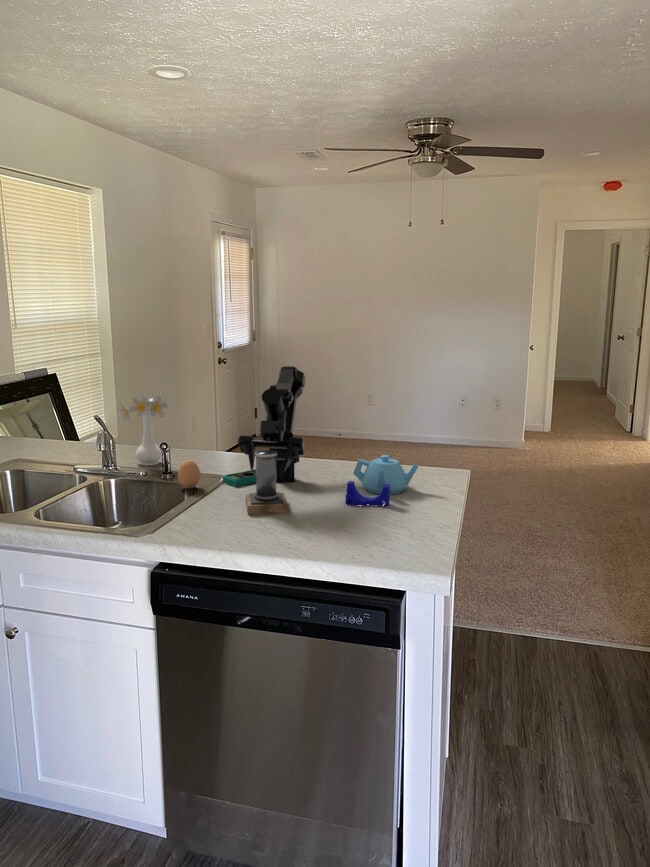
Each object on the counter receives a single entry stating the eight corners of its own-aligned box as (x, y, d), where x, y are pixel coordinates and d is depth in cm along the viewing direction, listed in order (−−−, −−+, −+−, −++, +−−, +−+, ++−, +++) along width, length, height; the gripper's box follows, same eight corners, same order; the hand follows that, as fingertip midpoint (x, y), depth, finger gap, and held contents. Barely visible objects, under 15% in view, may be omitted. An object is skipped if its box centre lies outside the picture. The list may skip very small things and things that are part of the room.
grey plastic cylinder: (271, 492, 192) (271, 448, 190) (282, 498, 187) (282, 453, 184) (250, 495, 189) (249, 451, 186) (260, 502, 183) (260, 456, 181)
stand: (283, 501, 195) (283, 491, 194) (287, 513, 184) (287, 502, 183) (245, 502, 193) (245, 492, 192) (247, 514, 182) (247, 504, 182)
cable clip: (345, 505, 192) (345, 485, 191) (348, 500, 196) (349, 481, 195) (386, 509, 189) (387, 488, 188) (389, 504, 193) (390, 484, 192)
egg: (176, 486, 208) (175, 458, 206) (198, 484, 210) (197, 456, 209) (180, 492, 202) (179, 463, 200) (202, 490, 204) (201, 461, 202)
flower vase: (114, 466, 230) (111, 394, 225) (156, 456, 245) (153, 388, 239) (140, 472, 223) (136, 398, 217) (181, 461, 237) (179, 392, 232)
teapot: (388, 479, 219) (389, 447, 216) (419, 491, 206) (420, 457, 204) (350, 486, 210) (351, 453, 208) (380, 499, 198) (381, 463, 196)
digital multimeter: (273, 480, 217) (273, 471, 217) (234, 488, 208) (234, 479, 207) (259, 475, 223) (259, 467, 222) (221, 483, 213) (221, 474, 213)
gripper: (238, 407, 191) (229, 454, 183) (303, 409, 189) (297, 457, 181) (245, 428, 200) (237, 474, 192) (307, 431, 198) (301, 477, 190)
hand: (267, 470), depth 188 cm, fingers open, 9 cm apart
